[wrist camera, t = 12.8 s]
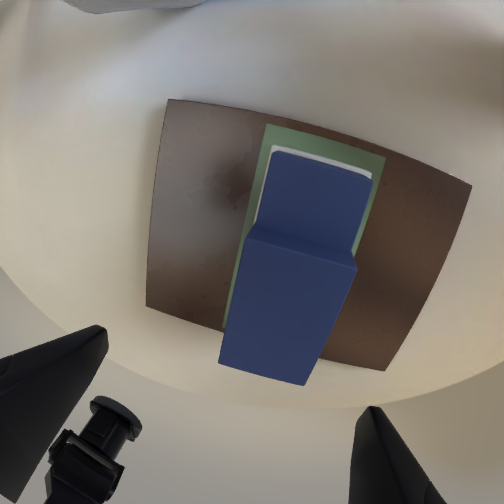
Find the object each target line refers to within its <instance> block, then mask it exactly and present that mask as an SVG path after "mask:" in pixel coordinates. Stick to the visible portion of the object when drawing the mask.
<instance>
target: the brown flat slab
mask: <svg viewBox="0 0 504 504" xmlns="http://www.w3.org/2000/svg"><path fill="white" fill-rule="evenodd" d="M275 144H276V145H281V146H285V147H289V148H293V149H296V150H300V151H304V152H308V153H311V154H315V155H319V156H322V157H326V158H329V159H332V160H336V161H339V162H342V163H346V164H349V165H352V166H355V167H358V168H361V169H364V170H367V171H369V172H370V173H372V176H371V180H372V181H373V182H374V184H373V187H372V190H371V193H370V197H369V200H368V203H367V206H366V209H365V212H364V216H363V219H362V222H361V225H360V228H359V230H358V233H357V236H356V239H355V242H354V245H353V248H352V250H351V251H352V254H353V257H354V260H355V263H356V266H357V272H356V275H355V277H354V280H353V282H352V285H351V287H350V290H349V292H348V294H347V297H346V299H345V301H344V304H343V306H342V308H341V311H340V313H339V315H338V317H337V320H336V322H335V324H334V326H333V328H332V331H331V333H330V335H329V337H328V339H327V341H326V343H325V346H324V348H323V350H322V352H321V354H320V356H319V358H321V359H325V360H330V361H334V362H339V363H344V364H348V365H353V366H358V367H363V368H369V369H374V370H380V371H385V370H386V368H387V367H388V365H389V364H390V362H391V361H392V359H393V358H394V356H395V354H396V353H397V351H398V350H399V348H400V346H401V345H402V343H403V341H404V340H405V338H406V336H407V335H408V333H409V331H410V329H411V328H412V326H413V324H414V322H415V321H416V319H417V317H418V315H419V313H420V311H421V309H422V308H423V306H424V304H425V302H426V300H427V298H428V296H429V294H430V292H431V290H432V288H433V286H434V284H435V282H436V279H437V277H438V275H439V273H440V271H441V269H442V266H443V264H444V262H445V260H446V257H447V255H448V252H449V250H450V248H451V245H452V243H453V240H454V238H455V235H456V232H457V230H458V227H459V224H460V222H461V219H462V216H463V213H464V210H465V207H466V204H467V201H468V198H469V195H470V192H471V189H472V185H470V184H468V183H466V182H464V181H462V180H460V179H458V178H456V177H454V176H452V175H449V174H447V173H445V172H443V171H441V170H439V169H436V168H434V167H432V166H429V165H427V164H425V163H422V162H420V161H418V160H415V159H413V158H410V157H408V156H405V155H403V154H400V153H398V152H395V151H392V150H390V149H387V148H384V147H381V146H379V145H376V144H373V143H370V142H367V141H364V140H361V139H358V138H355V137H352V136H349V135H346V134H342V133H339V132H336V131H332V130H329V129H325V128H322V127H318V126H315V125H311V124H307V123H303V122H299V121H295V120H291V119H287V118H283V117H278V116H274V115H269V114H265V113H260V112H255V111H250V110H244V109H239V108H233V107H227V106H221V105H214V104H208V103H200V102H192V101H184V100H174V99H168V102H167V108H166V113H165V118H164V123H163V129H162V135H161V141H160V147H159V153H158V160H157V167H156V174H155V182H154V190H153V199H152V209H151V219H150V230H149V243H148V258H147V279H146V306H147V307H150V308H152V309H155V310H158V311H161V312H163V313H166V314H169V315H172V316H175V317H178V318H181V319H184V320H186V321H189V322H192V323H195V324H199V325H202V326H205V327H208V328H211V329H214V330H217V331H220V332H225V327H226V322H227V318H228V313H229V308H230V304H231V299H232V294H233V290H234V285H235V281H236V276H237V271H238V267H239V262H240V258H241V253H242V249H243V244H244V240H245V237H246V236H247V234H248V233H249V231H250V229H251V228H252V226H253V223H254V219H255V215H256V210H257V206H258V202H259V197H260V193H261V189H262V184H263V180H264V176H265V171H266V167H267V163H268V159H269V154H270V150H271V146H272V145H275Z"/></svg>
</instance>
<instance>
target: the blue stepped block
mask: <svg viewBox="0 0 504 504" xmlns="http://www.w3.org/2000/svg"><path fill="white" fill-rule="evenodd" d="M371 176H372V173H370V172H369V171H367V170H364V169H361V168H358V167H355V166H352V165H349V164H346V163H342V162H339V161H336V160H332V159H329V158H326V157H322V156H319V155H315V154H311V153H308V152H304V151H300V150H296V149H293V148H289V147H285V146H281V145H276V144H275V145H272V146H271V150H270V154H269V159H268V163H267V167H266V171H265V176H264V180H263V184H262V189H261V193H260V197H259V202H258V206H257V210H256V215H255V219H254V223H253V226H252V228H251V229H250V231H249V233H248V234H247V236H246V237H245V240H244V244H243V249H242V253H241V258H240V262H239V267H238V271H237V276H236V281H235V285H234V290H233V294H232V299H231V304H230V308H229V313H228V318H227V322H226V327H225V332H224V336H223V341H222V346H221V350H220V355H219V360H218V363H219V364H222V365H225V366H229V367H232V368H235V369H239V370H242V371H246V372H249V373H253V374H256V375H260V376H264V377H268V378H272V379H276V380H280V381H284V382H288V383H292V384H296V385H301V386H304V385H305V383H306V381H307V380H308V378H309V376H310V374H311V372H312V370H313V368H314V366H315V364H316V362H317V360H318V358H319V356H320V354H321V352H322V350H323V348H324V346H325V343H326V341H327V339H328V337H329V335H330V333H331V331H332V328H333V326H334V324H335V322H336V320H337V317H338V315H339V313H340V311H341V308H342V306H343V304H344V301H345V299H346V297H347V294H348V292H349V290H350V287H351V285H352V282H353V280H354V277H355V275H356V272H357V266H356V263H355V260H354V257H353V254H352V251H351V250H352V248H353V245H354V242H355V239H356V236H357V233H358V230H359V228H360V225H361V222H362V219H363V216H364V212H365V209H366V206H367V203H368V200H369V197H370V193H371V190H372V187H373V184H374V182H373V181H372V180H371Z"/></svg>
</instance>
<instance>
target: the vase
mask: <svg viewBox="0 0 504 504" xmlns="http://www.w3.org/2000/svg"><path fill="white" fill-rule="evenodd" d="M61 1H63V2H65V3H67V4H69V5H71V6H73V7H75V8H77V9H79V10H81V11H83V12H87V13H92V14H102V13H109V12H117V11H127V10H138V9H154V8H186V7H193V6H196V5H199V4H201V3H202V2H204V1H205V0H61Z"/></svg>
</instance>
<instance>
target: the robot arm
mask: <svg viewBox="0 0 504 504" xmlns="http://www.w3.org/2000/svg"><path fill="white" fill-rule="evenodd" d="M108 348H109V343H108V335H107V330H106V329H105V328H103V327H101V326H99V325H93V326H90V327H87V328H85V329H82V330H79V331H77V332H74V333H71V334H69V335H66V336H63V337H60V338H57V339H55V340H52V341H50V342H46V343H44V344H41V345H38V346H35V347H33V348H30V349H27V350H24V351H21V352H19V353H16V354H13V356H12V355H10V356H7V357H4V358H2V359H0V494H1V495H3V496H4V497H6V498H7V499H9V500H10V501H12V502H13V503H16V502H17V500H18V499H19V497H20V495H21V493H22V491H23V490H24V488H25V486H26V484H27V483H28V481H29V479H30V477H31V476H32V474H33V472H34V471H35V469H36V467H37V465H38V464H39V462H40V460H41V459H42V457H43V455H44V454H45V452H46V451H47V449H48V447H49V446H50V444H51V443H52V441H53V439H54V438H55V436H56V435H57V433H58V432H59V430H60V428H61V427H62V425H63V424H64V422H65V421H66V419H67V418H68V416H69V415H70V413H71V412H72V410H73V409H74V407H75V406H76V404H77V402H78V401H79V400H80V398H81V397H82V395H83V394H84V392H85V391H86V389H87V388H88V386H89V385H90V383H91V381H92V380H93V378H94V376H95V374H96V372H97V370H98V368H99V366H100V365H101V363H102V361H103V359H104V357H105V355H106V354H107V352H108ZM90 406H91V408H92V411H93V416H92V417H91V418H90V420H89V421H88V423H87V424H86V426H85V427H84V429H83V430H82V431H81V433H80V434H79V436H78V435H76V434H75V433H74V432H73V431H72V430H69V431H68V430H66V429H64V430H63V431H62V433H61V434H60V436H59V437H58V438H57V439H56V441H55V442H54V443H53V444H52V446H51V447H50V448H49V450H48V451H49V454H50V455H49V460H48V462H49V463H50V464H51V465H52V466H51V467H50V469H49V471H48V472H47V474H46V476H45V484H46V492H47V499H46V500H45V502H44V504H103V503H104V501H108V500H109V499H110V498H111V496H112V495H113V493H114V492H115V490H116V487H117V485H118V483H119V480H120V478H121V475H122V473H123V471H124V468H125V467H124V466H122V465H119V464H118V463H116V462H115V461H114V460H115V458H116V457H117V455H118V453H119V451H120V450H121V448H122V446H123V444H124V443H125V441H126V439H128V440H130V441H132V442H134V441H135V436H134V431H133V427H132V422H131V420H130V419H128V418H126V417H124V416H122V415H120V414H118V413H116V412H114V411H112V410H110V409H108V408H106V407H104V406H102V405H100V404H98V403H96V402H95V401H93V400H92V401H90ZM67 441H68V442H69V443H67ZM71 444H72V445H71ZM348 504H447V503H446V502H445V501H444V499H443V498H442V497H441V495H440V494H439V493H438V491H437V490H436V488H435V487H434V485H433V484H432V482H431V481H429V478H428V476H427V475H426V473H425V472H424V471H423V469H422V468H421V466H420V464H419V463H418V462H417V460H416V458H415V457H414V456H413V454H412V453H411V451H410V450H409V448H408V447H407V445H406V444H405V442H404V441H403V439H402V438H401V436H400V435H399V433H398V432H397V431H396V429H395V428H394V426H393V425H392V423H391V422H390V420H389V419H388V418H387V416H386V414H385V413H384V412H383V410H382V409H381V408H380V407H375V406H369V407H367V409H366V410H365V411H364V412H363V414H362V415H361V416H360V417H359V419H358V421H357V423H356V427H355V436H354V443H353V451H352V457H351V467H350V487H349V502H348Z"/></svg>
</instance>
